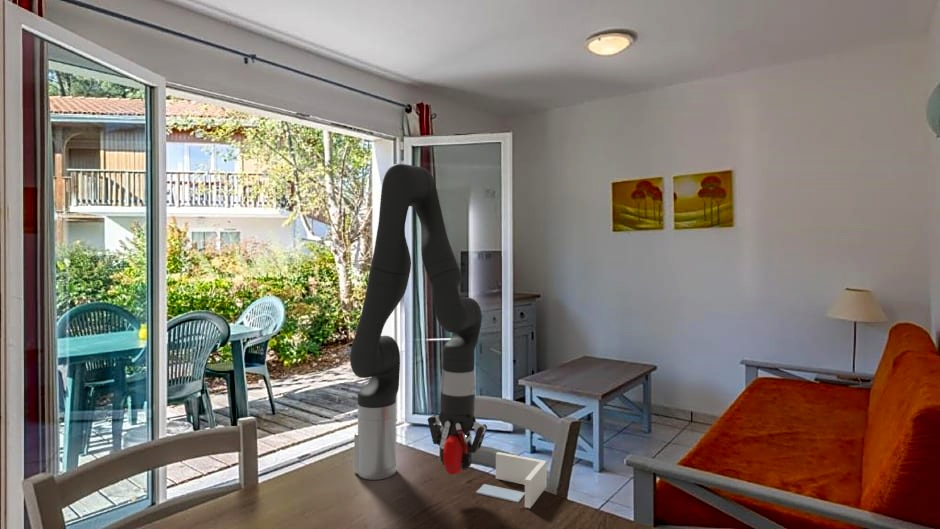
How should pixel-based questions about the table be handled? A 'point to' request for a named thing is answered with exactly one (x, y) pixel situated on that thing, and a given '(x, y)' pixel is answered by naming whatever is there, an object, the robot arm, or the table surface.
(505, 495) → the pad
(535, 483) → the corner walls
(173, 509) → the table surface
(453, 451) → the heart
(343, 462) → the table surface
